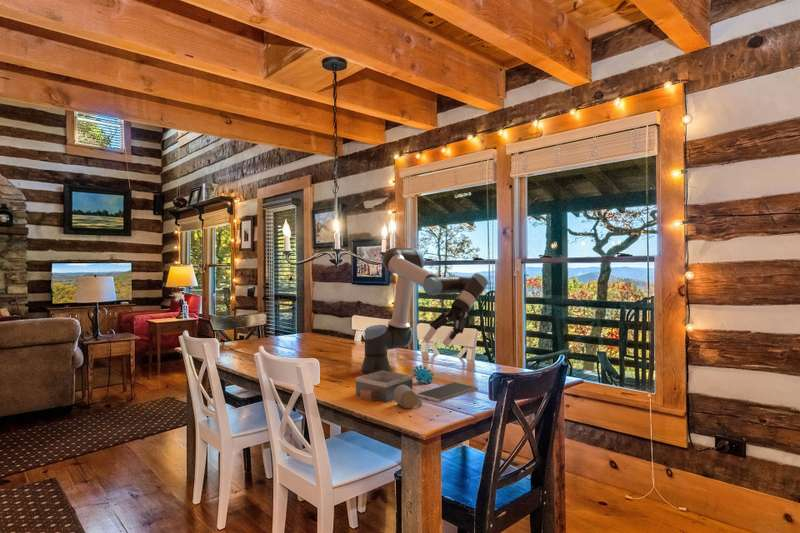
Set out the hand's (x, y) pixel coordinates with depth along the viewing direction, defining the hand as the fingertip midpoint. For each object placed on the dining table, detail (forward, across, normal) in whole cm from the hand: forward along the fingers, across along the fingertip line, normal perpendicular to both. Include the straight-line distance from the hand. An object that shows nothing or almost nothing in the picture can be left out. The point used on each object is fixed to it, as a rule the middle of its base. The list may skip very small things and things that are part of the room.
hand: (434, 342), depth 192 cm
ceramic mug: (+26, -1, -6) cm, 27 cm away
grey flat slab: (+10, +5, -24) cm, 26 cm away
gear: (+8, +25, -24) cm, 36 cm away
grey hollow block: (+27, +18, -5) cm, 33 cm away
